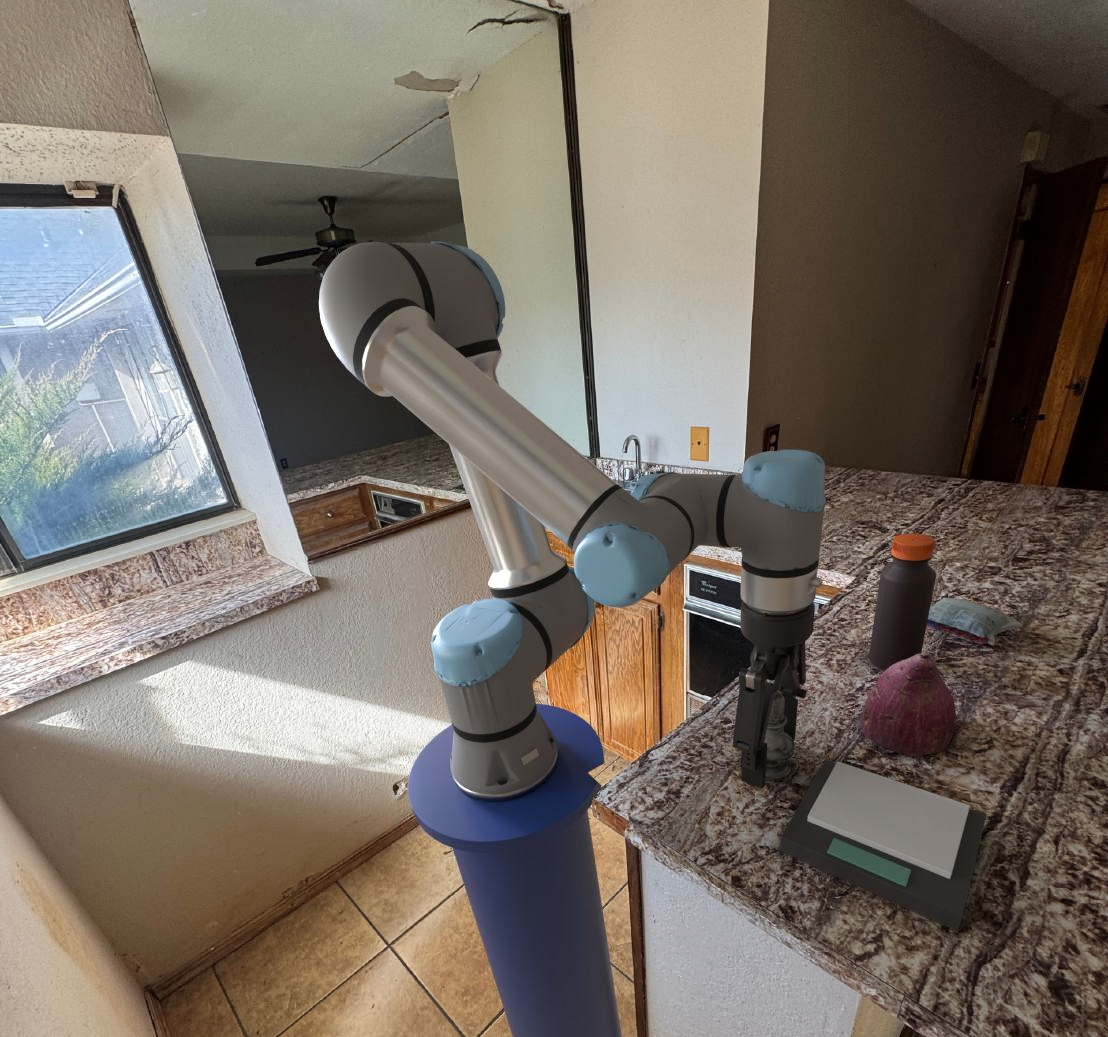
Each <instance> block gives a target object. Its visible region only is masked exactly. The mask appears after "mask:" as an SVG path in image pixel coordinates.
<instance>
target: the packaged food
mask: <svg viewBox="0 0 1108 1037" xmlns="http://www.w3.org/2000/svg"><path fill="white" fill-rule="evenodd" d="M926 628H928V629H931V630H933V631H938V632H941V633H944V634H947V635H950V636H953V637H955V638H959V639H960V640H961V639H962V640H964V641H968V642H971V643H975V644H980V645H984V644H989V645H991V646H995V644H996V643H995V642H996V640H995V636H997V635H998V634H1001V633H1004V632H1006V631H1009V630H1013V629H1014V628H1023V623H1021V622H1020V621H1018V620H1017V619H1015V618H1014V617H1012V616H1008V615H1007V614H1006V613H1005V611H1002V610H1000V609H998V608H993V607H991V606H987V605H984V604H981V603H978V602H973V601H969V600H967V599H963V598H956V597H949V598H948V597H945V596H943V597H942V598H941V599H940V600H939V601H937V602H936V603H934V604H933V605H932V606H930V611H929V616H928V621H927V627H926Z"/></svg>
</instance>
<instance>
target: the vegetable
mask: <svg viewBox="0 0 1108 1037" xmlns="http://www.w3.org/2000/svg"><path fill="white" fill-rule="evenodd" d="M956 714H957V712H956V704H955V701H954V697H953V695H952V693H951V690H950V688H949V687H948V685H947V684H946V682H945V680H944V679H943V677H942V675H941V674H940V672H939V670H938V667H937V663H936V660H935V658H934V657H933V656H932V655H930V654H928V653H925V652H921V653H920V654H916V655H914V656H912V657H910V658H908V659H905V660H902V661H900V662H897V663H896V664H893V665H892V666H890V667H889V668H888V669H886V670H883V672H882V673H881V675H880V676H879V678H877V681H876V683H875V684H874V686H873V687H872V688H871V690H870V692H869V694H868V695H867V698H866V700H865V704H864V707H863V710H862V714H861V717H860V731H861V733H862V734H863V735H864V736H865V737H866V738H868V740H870V741H871V742H874V743H875V744H877V745H879V746H882V747H884V748H886V749H889V750H890V751H893V752H895V753H896V754H897V753H898V754H902V755H906V756H908V757H913V756H915V757H920V756H927V755H932V754H937V753H939V752H942V751H944V750H946V748H947V747H948V745H949V744H950V742H951V740H952V737H953V735H954V731H955V727H956V716H957V715H956Z"/></svg>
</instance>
